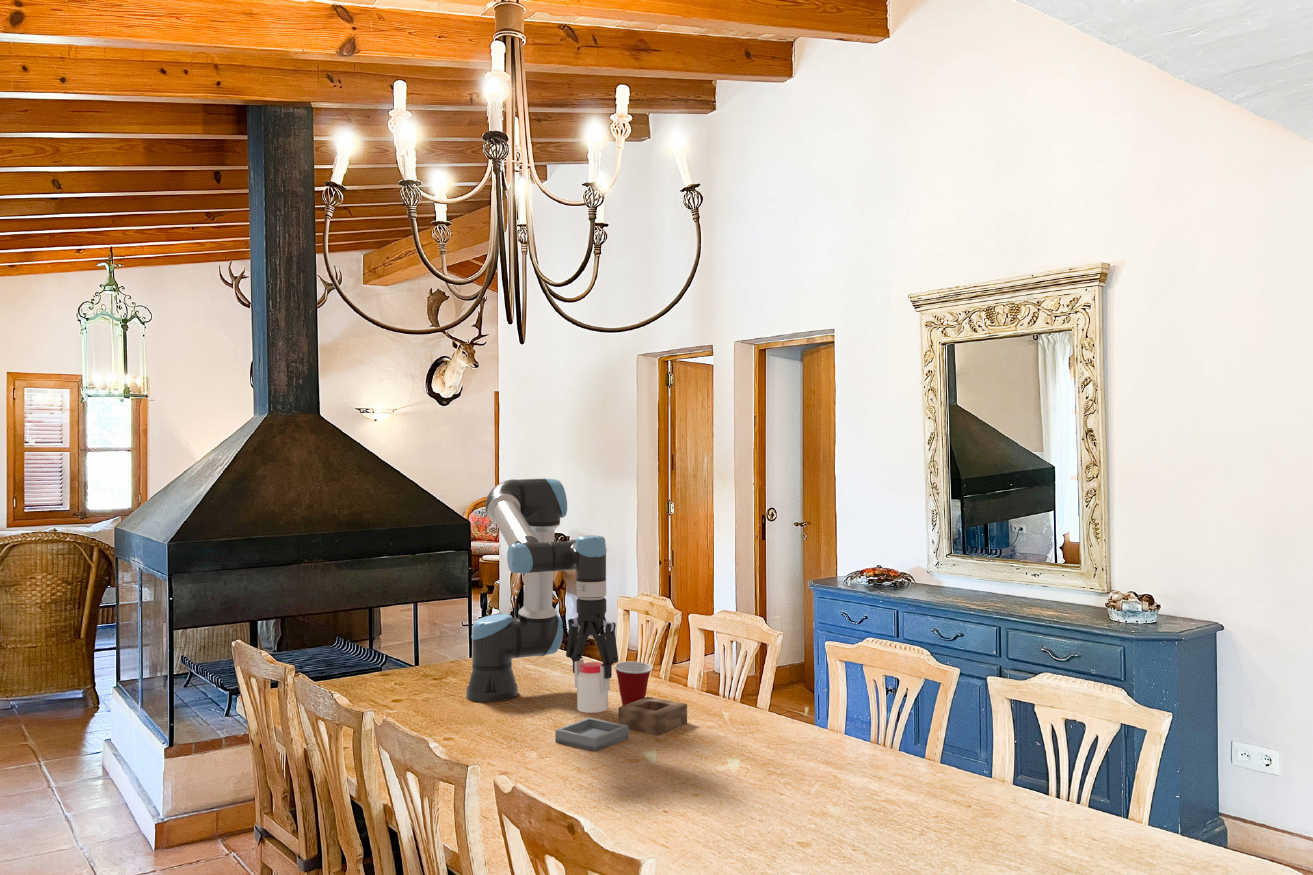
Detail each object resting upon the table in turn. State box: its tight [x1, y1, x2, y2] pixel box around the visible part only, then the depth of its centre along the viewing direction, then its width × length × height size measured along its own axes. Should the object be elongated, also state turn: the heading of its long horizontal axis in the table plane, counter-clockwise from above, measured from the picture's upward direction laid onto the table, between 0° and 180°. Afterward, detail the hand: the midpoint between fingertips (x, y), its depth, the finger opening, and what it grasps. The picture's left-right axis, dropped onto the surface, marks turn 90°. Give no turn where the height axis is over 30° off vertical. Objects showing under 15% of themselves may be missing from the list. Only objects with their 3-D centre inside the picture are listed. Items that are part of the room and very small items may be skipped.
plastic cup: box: [613, 660, 653, 706], centre depth 260 cm, size 11×11×12 cm
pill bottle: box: [576, 661, 609, 714], centre depth 231 cm, size 8×8×11 cm
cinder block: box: [617, 696, 688, 736], centre depth 244 cm, size 13×13×5 cm
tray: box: [554, 717, 630, 752], centre depth 231 cm, size 13×13×3 cm
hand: (592, 688), depth 231 cm, fingers closed on pill bottle, 8 cm apart
